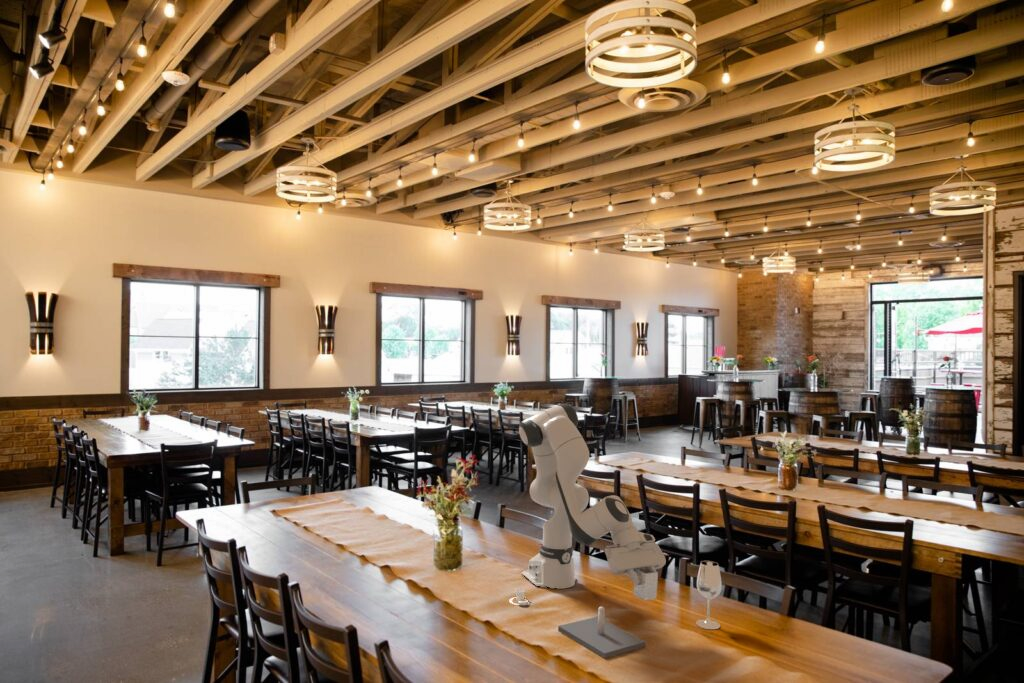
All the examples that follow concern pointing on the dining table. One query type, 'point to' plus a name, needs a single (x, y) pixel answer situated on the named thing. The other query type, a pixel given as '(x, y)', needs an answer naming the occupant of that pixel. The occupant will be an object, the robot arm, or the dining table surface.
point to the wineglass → (709, 589)
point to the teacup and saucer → (519, 598)
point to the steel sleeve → (646, 584)
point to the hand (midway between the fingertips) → (646, 583)
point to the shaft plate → (601, 636)
